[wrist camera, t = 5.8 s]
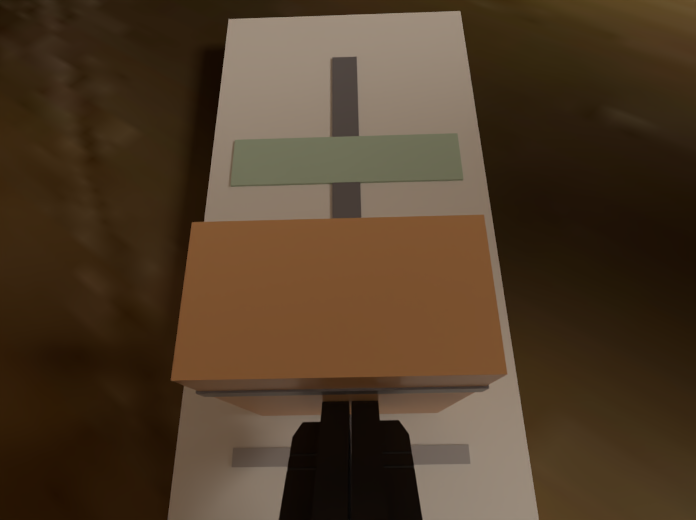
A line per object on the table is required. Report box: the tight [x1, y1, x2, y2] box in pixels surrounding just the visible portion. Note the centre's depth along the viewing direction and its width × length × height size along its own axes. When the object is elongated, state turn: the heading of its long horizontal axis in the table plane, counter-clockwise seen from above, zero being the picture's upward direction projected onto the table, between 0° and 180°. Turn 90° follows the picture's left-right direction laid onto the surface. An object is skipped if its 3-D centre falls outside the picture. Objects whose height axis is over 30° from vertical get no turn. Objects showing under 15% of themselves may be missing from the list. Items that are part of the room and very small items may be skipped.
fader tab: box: [171, 215, 507, 416], centre depth 13 cm, size 3×6×8 cm, turn 91°
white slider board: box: [168, 11, 539, 520], centre depth 19 cm, size 30×12×2 cm, turn 1°
